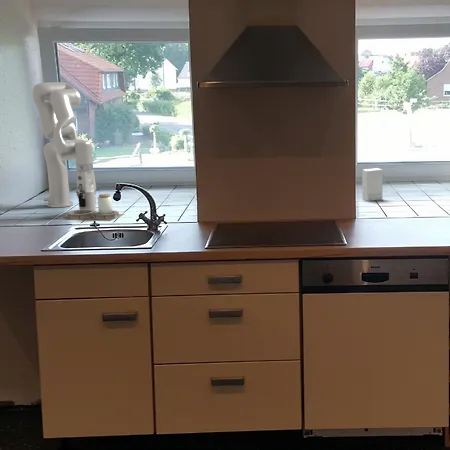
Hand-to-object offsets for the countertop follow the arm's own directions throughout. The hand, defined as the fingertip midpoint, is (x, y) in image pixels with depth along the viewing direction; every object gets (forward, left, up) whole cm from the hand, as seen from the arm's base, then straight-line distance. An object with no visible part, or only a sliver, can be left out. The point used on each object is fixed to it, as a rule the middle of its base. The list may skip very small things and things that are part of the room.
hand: (87, 204), depth 309 cm
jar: (+16, -13, -3) cm, 21 cm away
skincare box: (+125, +52, -4) cm, 135 cm away
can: (0, 0, -4) cm, 4 cm away
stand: (+9, -13, -4) cm, 16 cm away
